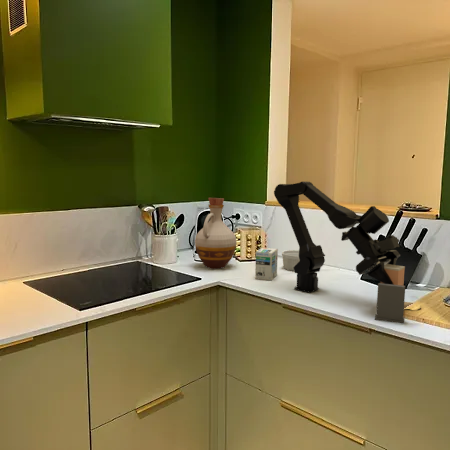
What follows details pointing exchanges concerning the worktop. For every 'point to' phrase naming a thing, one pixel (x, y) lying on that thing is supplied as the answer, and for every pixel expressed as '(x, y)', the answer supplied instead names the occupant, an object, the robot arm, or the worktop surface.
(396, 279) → the tin
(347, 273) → the worktop surface
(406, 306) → the coaster
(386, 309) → the screen
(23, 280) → the worktop surface
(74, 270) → the worktop surface
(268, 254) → the light bulb box
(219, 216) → the jug
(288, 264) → the ramekin
